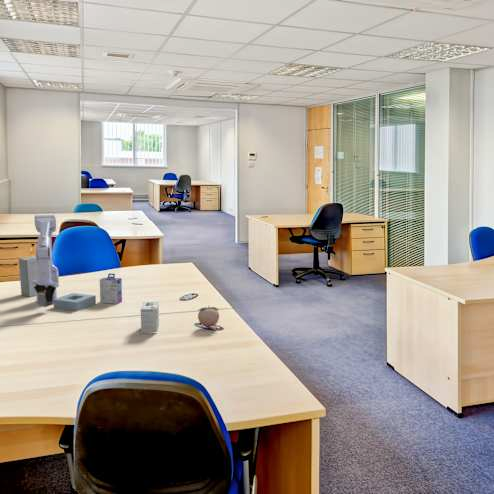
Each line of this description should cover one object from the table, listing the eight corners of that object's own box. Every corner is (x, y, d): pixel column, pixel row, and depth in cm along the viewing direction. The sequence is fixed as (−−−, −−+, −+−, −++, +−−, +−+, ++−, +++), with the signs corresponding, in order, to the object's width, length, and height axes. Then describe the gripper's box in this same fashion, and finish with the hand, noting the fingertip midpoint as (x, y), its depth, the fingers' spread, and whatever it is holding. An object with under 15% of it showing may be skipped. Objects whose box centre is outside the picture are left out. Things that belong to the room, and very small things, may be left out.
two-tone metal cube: (38, 306, 242) (38, 292, 241) (46, 303, 247) (45, 290, 246) (45, 306, 241) (44, 293, 240) (53, 304, 245) (52, 290, 244)
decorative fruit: (201, 332, 217) (201, 309, 216) (195, 326, 225) (195, 304, 223) (222, 329, 221) (222, 306, 220) (216, 323, 229) (216, 302, 227)
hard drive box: (46, 289, 288) (44, 254, 284) (54, 291, 283) (53, 255, 280) (20, 295, 275) (18, 258, 272) (28, 297, 271) (26, 259, 268)
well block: (53, 307, 252) (53, 299, 251) (73, 300, 264) (73, 292, 264) (77, 311, 246) (76, 302, 246) (95, 303, 259) (95, 295, 259)
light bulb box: (143, 325, 225) (143, 301, 223) (159, 325, 226) (158, 301, 224) (140, 334, 214) (140, 308, 213) (157, 333, 215) (156, 308, 213)
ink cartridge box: (122, 301, 265) (122, 273, 262) (118, 304, 259) (117, 275, 257) (104, 300, 267) (104, 272, 264) (99, 302, 261) (98, 274, 259)
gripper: (25, 272, 240) (27, 301, 243) (50, 275, 235) (52, 304, 237) (37, 269, 247) (38, 297, 249) (61, 272, 241) (62, 300, 244)
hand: (45, 300), depth 244 cm, fingers closed on two-tone metal cube, 4 cm apart
